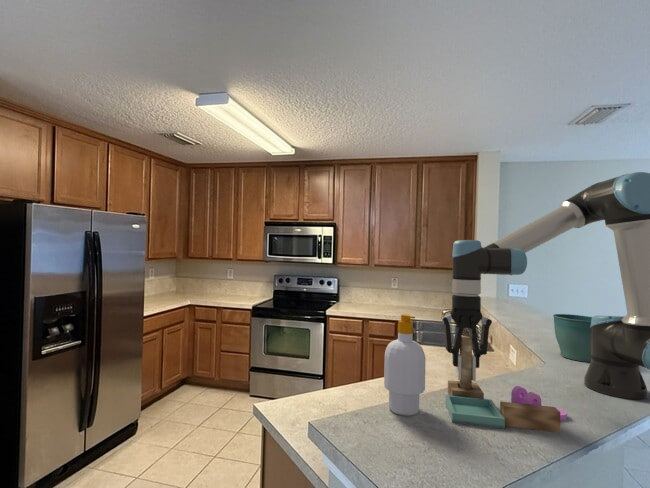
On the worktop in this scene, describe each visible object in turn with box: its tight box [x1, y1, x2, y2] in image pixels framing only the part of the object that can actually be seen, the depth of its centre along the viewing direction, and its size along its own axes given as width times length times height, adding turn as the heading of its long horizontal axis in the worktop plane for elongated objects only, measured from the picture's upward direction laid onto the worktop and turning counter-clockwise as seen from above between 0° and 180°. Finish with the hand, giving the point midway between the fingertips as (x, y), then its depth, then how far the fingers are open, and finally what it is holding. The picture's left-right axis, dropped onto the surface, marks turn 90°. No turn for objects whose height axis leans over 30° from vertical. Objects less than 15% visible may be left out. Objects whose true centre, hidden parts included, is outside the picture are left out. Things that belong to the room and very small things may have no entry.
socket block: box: [447, 380, 485, 399], centre depth 98 cm, size 8×8×4 cm
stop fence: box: [499, 401, 561, 433], centre depth 83 cm, size 12×3×4 cm, turn 79°
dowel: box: [459, 335, 473, 389], centre depth 98 cm, size 3×3×16 cm
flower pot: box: [552, 313, 593, 363], centre depth 146 cm, size 18×18×17 cm
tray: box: [444, 394, 506, 429], centre depth 88 cm, size 12×12×2 cm
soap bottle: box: [383, 313, 427, 417], centre depth 90 cm, size 10×10×24 cm
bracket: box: [510, 385, 568, 422], centre depth 89 cm, size 13×6×7 cm, turn 103°
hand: (465, 378), depth 98 cm, fingers closed on dowel, 3 cm apart
